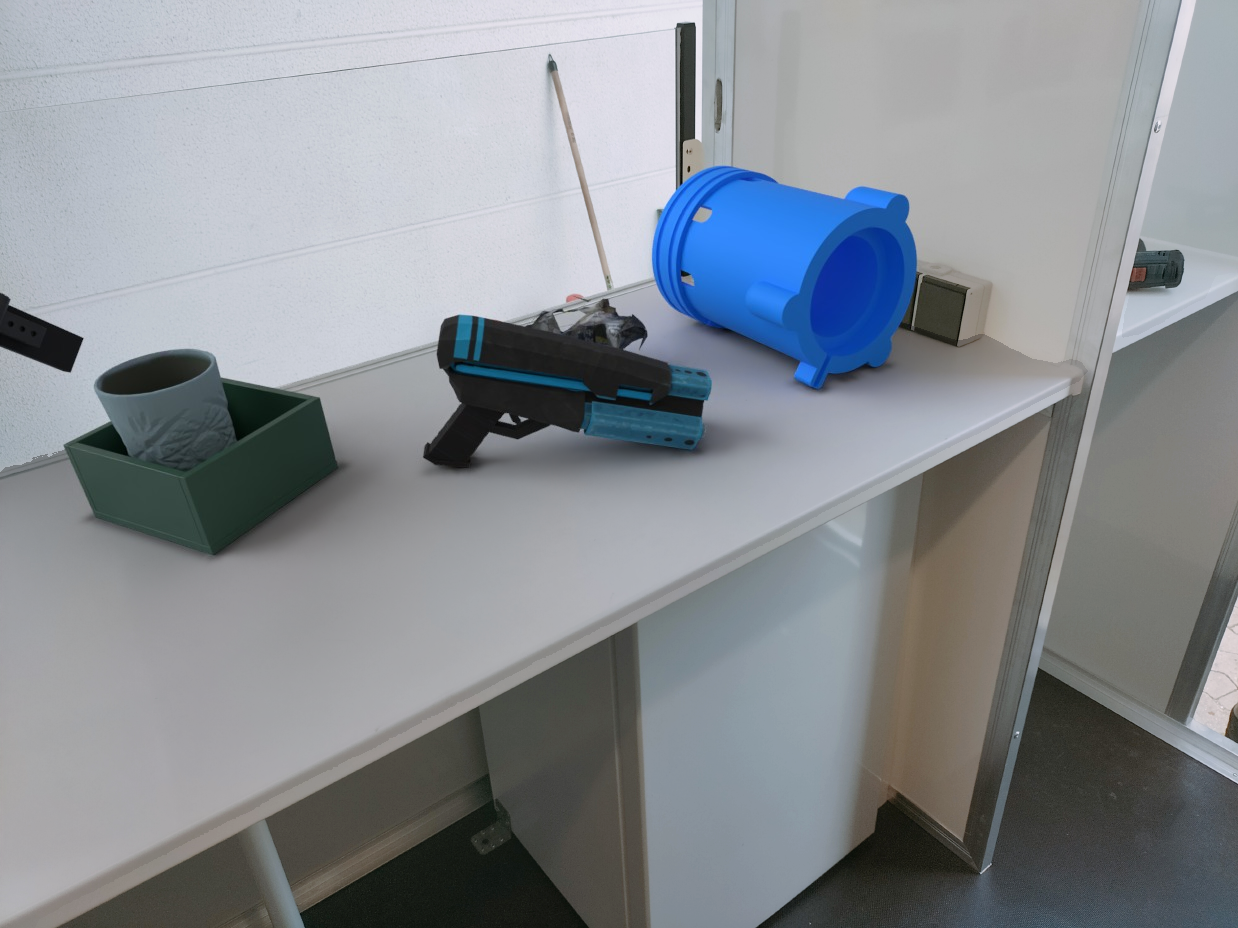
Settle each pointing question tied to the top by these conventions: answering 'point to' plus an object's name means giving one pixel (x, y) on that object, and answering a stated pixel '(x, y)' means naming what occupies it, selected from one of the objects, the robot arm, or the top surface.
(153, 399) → the grey-blue textured cup
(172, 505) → the open box
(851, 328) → the tube
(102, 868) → the top surface
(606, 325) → the foil
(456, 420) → the gun
